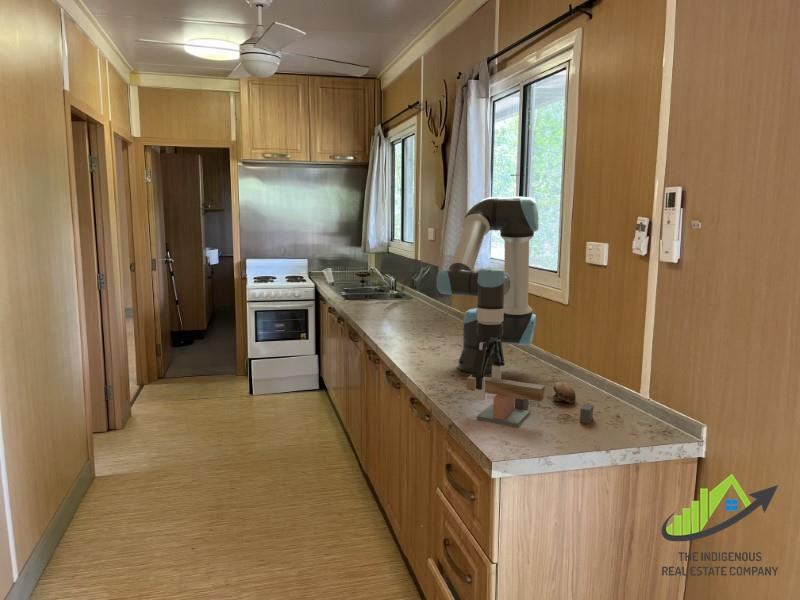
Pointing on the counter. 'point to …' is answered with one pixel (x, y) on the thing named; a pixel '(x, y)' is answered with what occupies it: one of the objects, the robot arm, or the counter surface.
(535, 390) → the rod
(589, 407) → the grey blocks
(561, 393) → the mushroom
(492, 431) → the counter surface
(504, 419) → the fulcrum
